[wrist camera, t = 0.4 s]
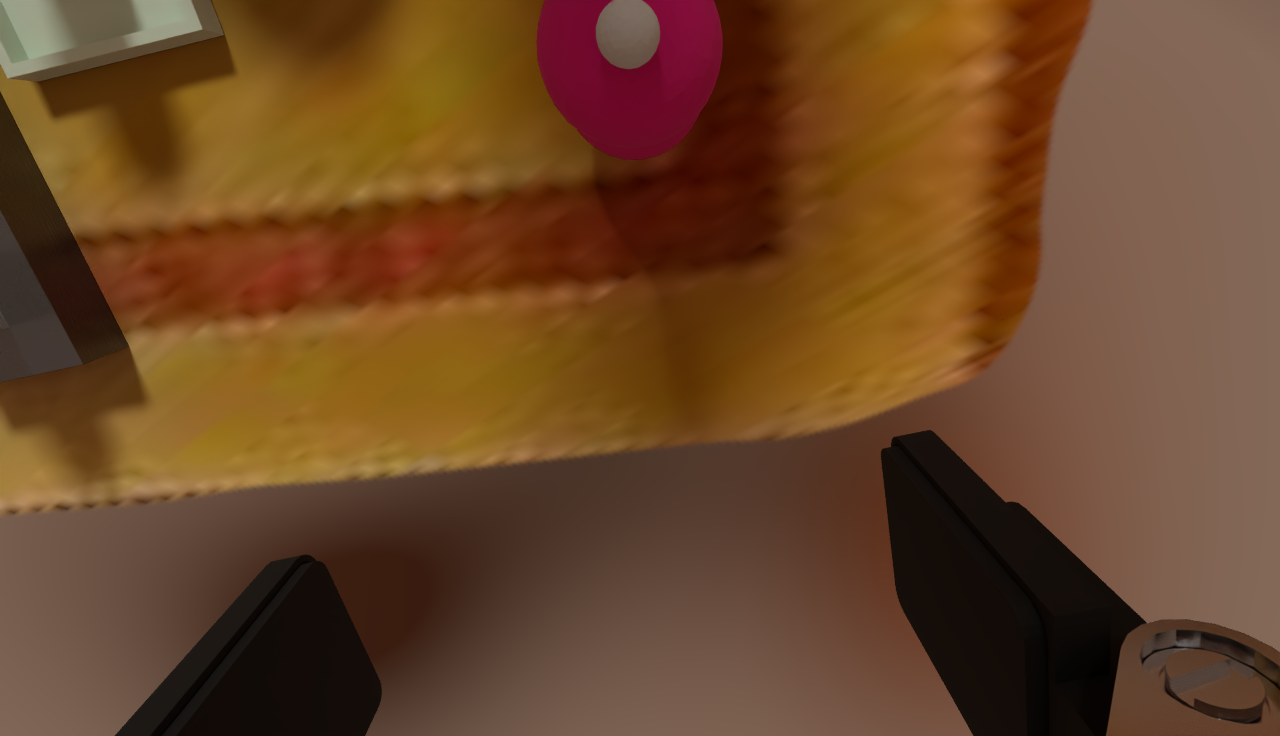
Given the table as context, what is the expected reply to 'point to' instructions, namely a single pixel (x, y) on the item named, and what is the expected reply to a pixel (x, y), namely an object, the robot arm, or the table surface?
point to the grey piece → (43, 275)
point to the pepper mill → (630, 69)
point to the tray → (95, 32)
